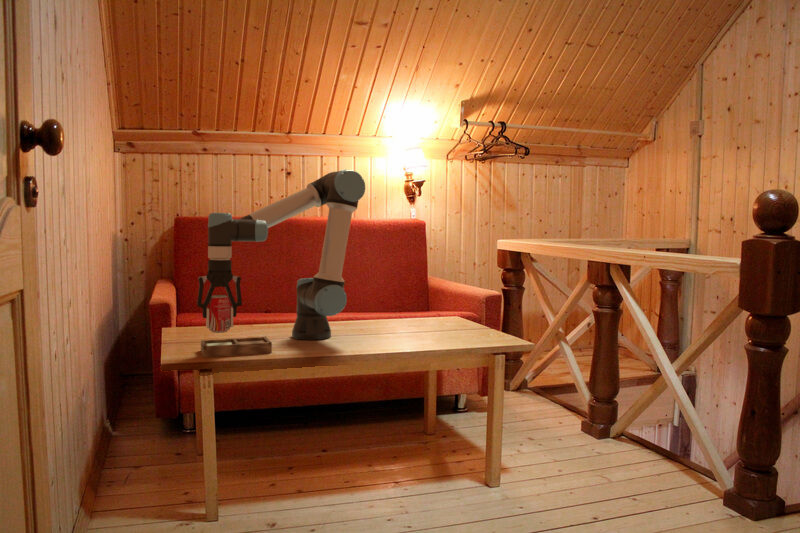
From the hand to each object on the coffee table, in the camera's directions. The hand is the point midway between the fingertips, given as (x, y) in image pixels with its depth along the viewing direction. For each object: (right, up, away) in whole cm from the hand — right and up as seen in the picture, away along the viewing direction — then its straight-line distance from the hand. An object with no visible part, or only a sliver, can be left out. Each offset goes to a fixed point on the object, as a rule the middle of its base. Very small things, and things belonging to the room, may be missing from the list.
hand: (219, 327), depth 190 cm
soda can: (0, -2, 0) cm, 2 cm away
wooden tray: (+5, -9, +3) cm, 10 cm away
